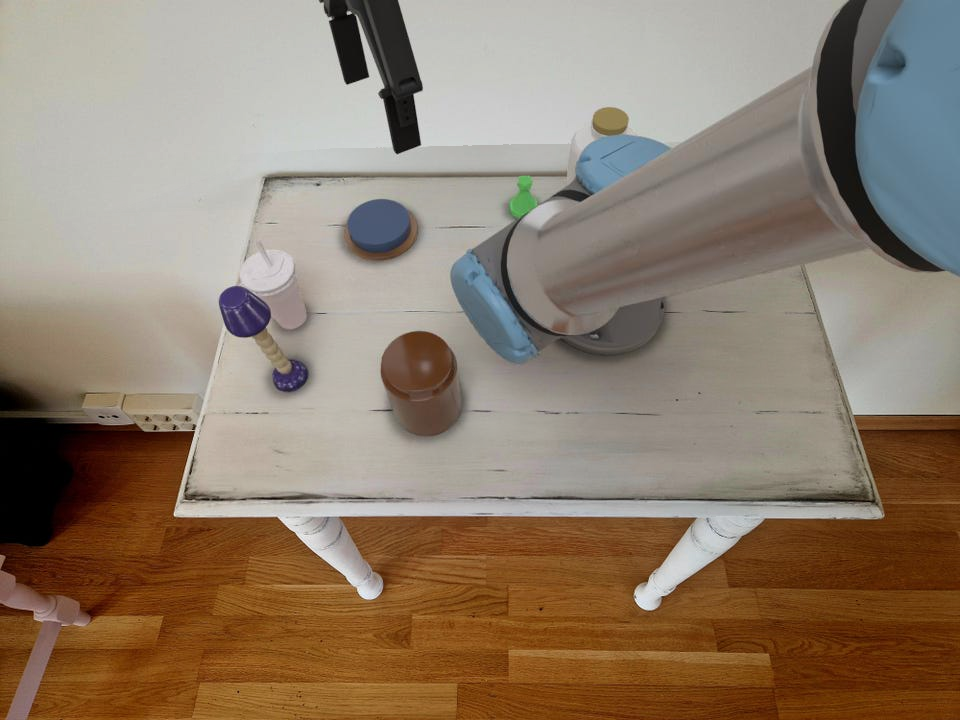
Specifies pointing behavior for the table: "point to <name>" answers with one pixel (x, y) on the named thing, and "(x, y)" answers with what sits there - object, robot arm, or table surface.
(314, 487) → the table surface
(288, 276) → the smoothie
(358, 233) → the jar lid
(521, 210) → the game piece
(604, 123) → the potion bottle
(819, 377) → the table surface
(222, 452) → the table surface
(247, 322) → the toy lamp
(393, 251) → the coaster
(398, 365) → the jar
